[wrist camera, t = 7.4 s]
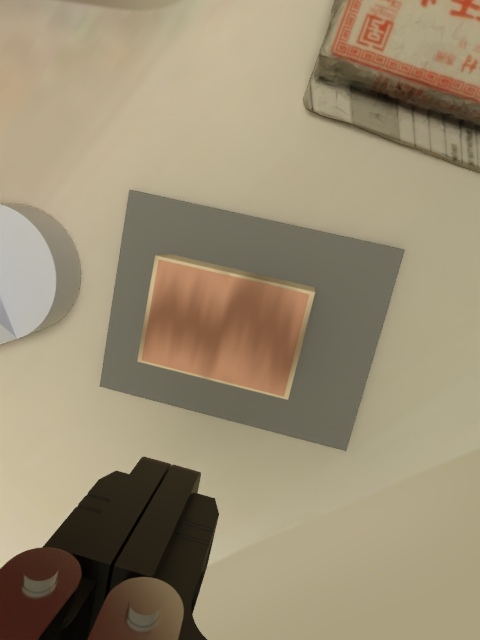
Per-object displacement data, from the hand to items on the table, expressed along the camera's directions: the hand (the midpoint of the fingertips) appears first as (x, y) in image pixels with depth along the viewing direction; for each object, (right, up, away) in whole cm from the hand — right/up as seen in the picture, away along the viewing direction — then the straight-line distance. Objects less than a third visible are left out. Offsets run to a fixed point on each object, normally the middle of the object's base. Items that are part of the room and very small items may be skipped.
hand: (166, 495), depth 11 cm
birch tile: (+6, +3, +18) cm, 19 cm away
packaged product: (+16, +19, +16) cm, 29 cm away
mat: (+2, +4, +20) cm, 20 cm away
